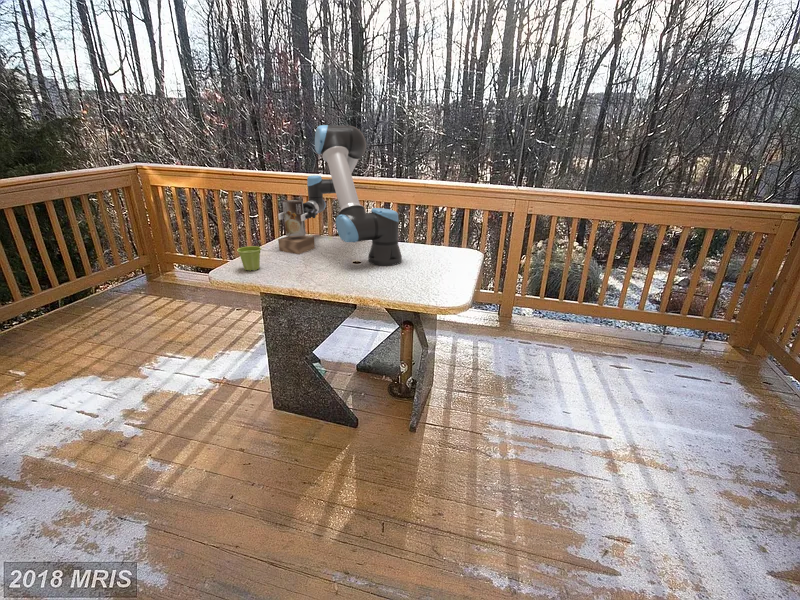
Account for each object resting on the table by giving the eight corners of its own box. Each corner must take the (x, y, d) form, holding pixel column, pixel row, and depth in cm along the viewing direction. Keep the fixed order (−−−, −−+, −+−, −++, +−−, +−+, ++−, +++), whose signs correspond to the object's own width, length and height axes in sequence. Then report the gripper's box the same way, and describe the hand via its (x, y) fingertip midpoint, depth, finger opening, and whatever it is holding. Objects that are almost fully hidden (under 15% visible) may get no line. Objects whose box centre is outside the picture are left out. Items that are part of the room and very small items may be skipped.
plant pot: (236, 268, 165) (233, 248, 162) (257, 264, 171) (255, 244, 168) (245, 274, 159) (242, 253, 156) (267, 269, 165) (265, 249, 162)
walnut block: (314, 248, 196) (314, 237, 193) (298, 254, 186) (297, 242, 184) (295, 245, 201) (294, 234, 198) (279, 251, 191) (278, 239, 188)
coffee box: (306, 232, 194) (303, 199, 188) (305, 235, 188) (302, 201, 182) (286, 233, 193) (283, 199, 186) (285, 236, 187) (282, 202, 180)
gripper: (330, 217, 203) (314, 227, 183) (289, 215, 206) (268, 224, 186) (329, 202, 200) (313, 210, 180) (287, 200, 203) (266, 208, 183)
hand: (290, 217), depth 183 cm, fingers closed on coffee box, 10 cm apart
